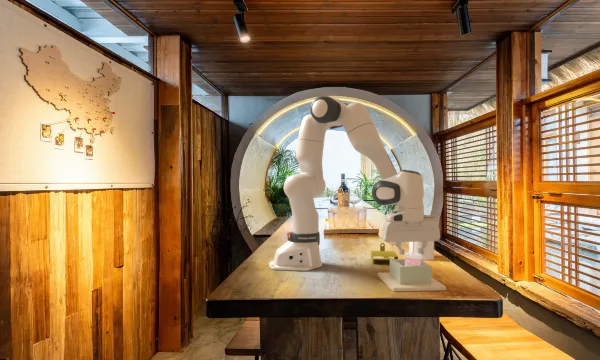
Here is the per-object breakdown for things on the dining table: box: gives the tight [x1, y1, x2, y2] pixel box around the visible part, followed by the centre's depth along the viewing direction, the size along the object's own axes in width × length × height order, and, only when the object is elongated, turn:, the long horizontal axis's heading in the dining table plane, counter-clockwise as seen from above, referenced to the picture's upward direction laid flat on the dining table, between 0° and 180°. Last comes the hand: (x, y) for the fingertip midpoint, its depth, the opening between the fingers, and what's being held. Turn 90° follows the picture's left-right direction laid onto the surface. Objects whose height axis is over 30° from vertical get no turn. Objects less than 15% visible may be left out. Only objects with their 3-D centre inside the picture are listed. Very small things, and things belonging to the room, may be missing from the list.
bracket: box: [370, 242, 399, 263], centre depth 158 cm, size 16×8×15 cm
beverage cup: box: [403, 242, 422, 266], centre depth 129 cm, size 6×6×14 cm
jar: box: [408, 241, 435, 261], centre depth 168 cm, size 12×10×15 cm
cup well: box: [377, 258, 447, 292], centre depth 130 cm, size 18×18×7 cm
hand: (411, 253), depth 129 cm, fingers open, 6 cm apart
